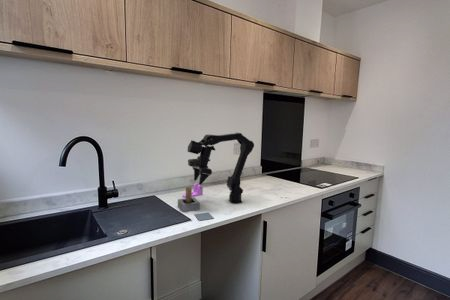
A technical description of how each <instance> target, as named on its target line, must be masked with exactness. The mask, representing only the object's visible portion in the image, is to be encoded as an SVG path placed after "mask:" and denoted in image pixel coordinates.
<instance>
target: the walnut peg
mask: <svg viewBox="0 0 450 300" xmlns="http://www.w3.org/2000/svg"><path fill="white" fill-rule="evenodd" d="M192 189H193V188H192V186H186V187H185V194H186V203H191V199H192V198H193V197H192V191H193V190H192Z"/></svg>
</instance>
